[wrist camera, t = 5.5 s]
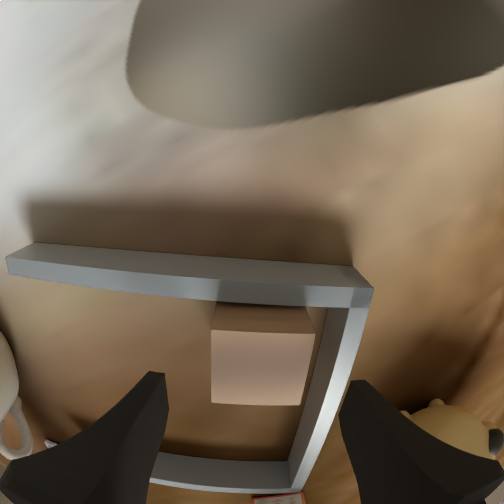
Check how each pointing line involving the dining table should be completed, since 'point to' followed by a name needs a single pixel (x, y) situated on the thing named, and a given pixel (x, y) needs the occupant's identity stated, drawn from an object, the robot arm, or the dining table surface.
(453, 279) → the dining table surface
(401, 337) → the dining table surface
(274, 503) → the cracker box
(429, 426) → the yellow lumpy rounded piece
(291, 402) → the walnut block
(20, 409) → the teacup
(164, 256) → the gray open frame
